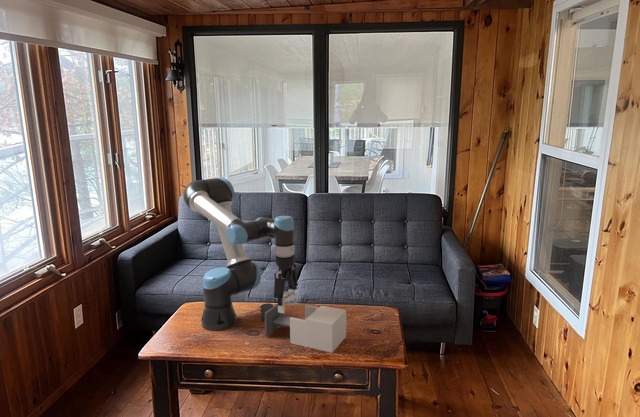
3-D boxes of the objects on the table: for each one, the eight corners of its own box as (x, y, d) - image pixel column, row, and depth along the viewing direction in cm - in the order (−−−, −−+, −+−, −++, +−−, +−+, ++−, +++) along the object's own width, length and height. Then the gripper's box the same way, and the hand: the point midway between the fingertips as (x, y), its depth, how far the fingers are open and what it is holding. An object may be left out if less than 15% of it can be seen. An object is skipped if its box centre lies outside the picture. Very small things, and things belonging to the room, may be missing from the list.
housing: (290, 343, 173) (289, 315, 171) (306, 328, 185) (306, 302, 183) (332, 352, 165) (332, 324, 163) (346, 336, 178) (346, 310, 175)
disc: (272, 301, 177) (272, 297, 176) (283, 294, 184) (282, 290, 183) (290, 304, 173) (290, 300, 173) (299, 297, 180) (299, 293, 180)
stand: (258, 320, 193) (258, 307, 192) (265, 315, 198) (265, 302, 197) (269, 322, 191) (269, 309, 190) (276, 317, 196) (275, 304, 195)
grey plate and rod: (264, 335, 178) (263, 312, 176) (281, 321, 190) (281, 300, 188) (303, 344, 170) (303, 320, 168) (318, 329, 183) (318, 307, 181)
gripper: (280, 263, 164) (281, 320, 168) (305, 249, 183) (306, 300, 187) (263, 260, 167) (265, 316, 172) (289, 247, 186) (291, 298, 190)
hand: (286, 308), depth 179 cm, fingers closed on disc, 8 cm apart
